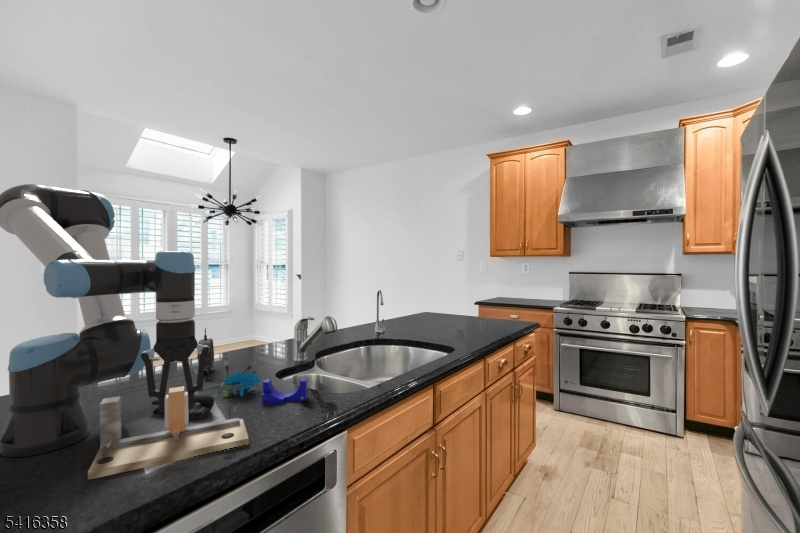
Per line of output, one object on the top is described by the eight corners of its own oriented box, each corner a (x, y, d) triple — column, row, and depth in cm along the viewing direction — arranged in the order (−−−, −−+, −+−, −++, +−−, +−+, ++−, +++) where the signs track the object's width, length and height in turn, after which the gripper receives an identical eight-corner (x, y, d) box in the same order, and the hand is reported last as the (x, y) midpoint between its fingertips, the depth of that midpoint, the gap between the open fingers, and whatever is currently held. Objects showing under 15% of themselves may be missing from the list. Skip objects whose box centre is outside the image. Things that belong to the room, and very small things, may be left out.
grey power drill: (212, 374, 137) (212, 329, 136) (195, 376, 135) (195, 330, 134) (214, 366, 147) (214, 324, 147) (199, 368, 145) (198, 325, 145)
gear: (262, 382, 123) (255, 366, 115) (262, 399, 119) (255, 384, 112) (226, 389, 121) (216, 374, 113) (225, 407, 117) (214, 392, 109)
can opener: (220, 411, 104) (220, 391, 104) (203, 422, 97) (202, 400, 97) (163, 407, 107) (163, 387, 107) (142, 417, 100) (142, 396, 100)
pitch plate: (87, 479, 71) (87, 418, 71) (101, 451, 81) (101, 397, 81) (248, 445, 84) (248, 393, 84) (242, 424, 95) (242, 378, 95)
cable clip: (261, 405, 108) (261, 384, 108) (265, 399, 113) (265, 379, 113) (304, 403, 109) (304, 382, 109) (307, 397, 114) (307, 377, 114)
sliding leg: (167, 444, 79) (167, 399, 79) (169, 428, 87) (169, 388, 87) (184, 440, 81) (183, 397, 81) (184, 426, 88) (184, 386, 88)
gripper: (129, 325, 78) (131, 438, 79) (216, 319, 86) (217, 422, 86) (134, 320, 85) (136, 424, 85) (215, 315, 93) (215, 411, 93)
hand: (177, 423), depth 86 cm, fingers closed on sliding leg, 3 cm apart
